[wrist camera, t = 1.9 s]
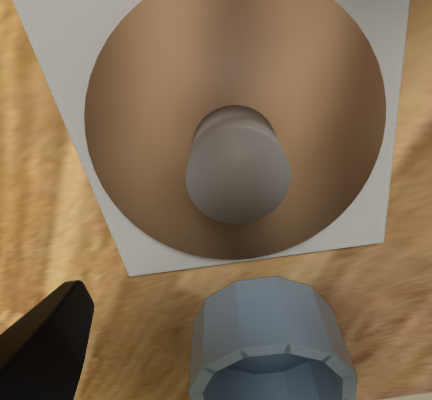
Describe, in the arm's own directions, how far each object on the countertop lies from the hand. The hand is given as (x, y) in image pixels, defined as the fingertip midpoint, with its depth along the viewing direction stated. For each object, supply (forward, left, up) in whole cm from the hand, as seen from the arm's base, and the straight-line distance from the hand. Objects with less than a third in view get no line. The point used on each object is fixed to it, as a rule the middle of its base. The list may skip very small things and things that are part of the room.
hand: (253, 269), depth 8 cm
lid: (0, 0, -9) cm, 9 cm away
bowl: (0, +15, -10) cm, 18 cm away
